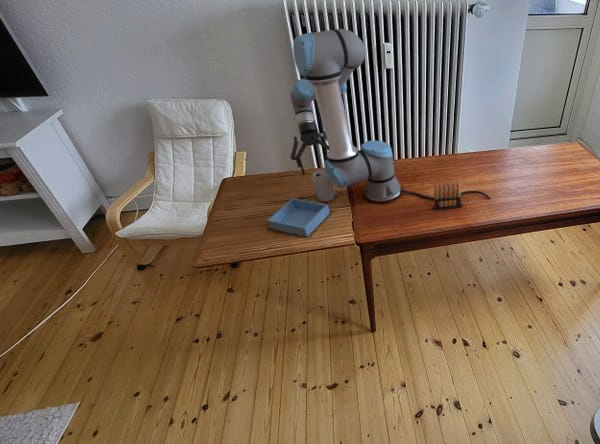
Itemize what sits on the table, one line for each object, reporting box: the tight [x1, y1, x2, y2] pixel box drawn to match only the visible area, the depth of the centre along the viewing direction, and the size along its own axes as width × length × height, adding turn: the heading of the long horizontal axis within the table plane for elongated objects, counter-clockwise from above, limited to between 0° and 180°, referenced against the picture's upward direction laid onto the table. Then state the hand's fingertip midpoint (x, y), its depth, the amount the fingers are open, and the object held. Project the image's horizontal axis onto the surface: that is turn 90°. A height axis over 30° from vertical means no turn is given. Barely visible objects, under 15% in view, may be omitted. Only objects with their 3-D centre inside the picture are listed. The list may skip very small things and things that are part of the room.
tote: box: [267, 197, 331, 238], centre depth 146 cm, size 17×16×4 cm
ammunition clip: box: [433, 181, 462, 211], centre depth 148 cm, size 11×2×12 cm, turn 98°
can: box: [311, 169, 336, 203], centre depth 156 cm, size 8×8×12 cm
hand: (319, 170), depth 163 cm, fingers open, 13 cm apart
